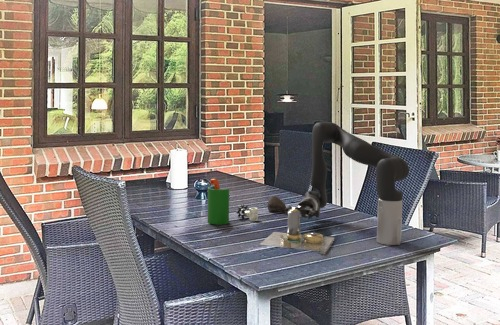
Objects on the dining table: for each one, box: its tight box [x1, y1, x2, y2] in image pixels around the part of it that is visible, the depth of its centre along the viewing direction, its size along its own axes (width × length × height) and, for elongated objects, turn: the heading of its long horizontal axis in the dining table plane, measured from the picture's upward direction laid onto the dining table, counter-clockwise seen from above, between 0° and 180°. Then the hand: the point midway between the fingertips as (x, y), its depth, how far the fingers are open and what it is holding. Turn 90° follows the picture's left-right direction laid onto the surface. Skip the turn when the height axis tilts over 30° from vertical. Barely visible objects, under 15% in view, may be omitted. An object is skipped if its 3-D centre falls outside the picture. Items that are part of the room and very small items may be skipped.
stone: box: [266, 195, 287, 212], centre depth 261 cm, size 10×8×10 cm
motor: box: [207, 178, 230, 226], centre depth 237 cm, size 10×9×20 cm
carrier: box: [259, 231, 335, 255], centre depth 205 cm, size 25×19×4 cm
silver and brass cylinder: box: [285, 209, 302, 241], centre depth 207 cm, size 6×6×12 cm
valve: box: [235, 204, 259, 222], centre depth 241 cm, size 7×7×12 cm
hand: (298, 215), depth 214 cm, fingers open, 8 cm apart
